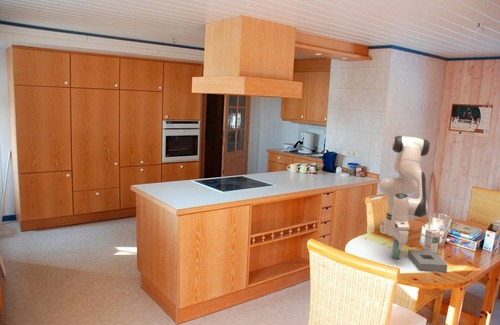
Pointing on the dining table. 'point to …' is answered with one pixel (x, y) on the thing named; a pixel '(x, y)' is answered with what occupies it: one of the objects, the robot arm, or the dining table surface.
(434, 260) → the hole block
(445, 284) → the dining table surface
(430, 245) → the syrup box
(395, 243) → the peg
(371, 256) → the dining table surface
